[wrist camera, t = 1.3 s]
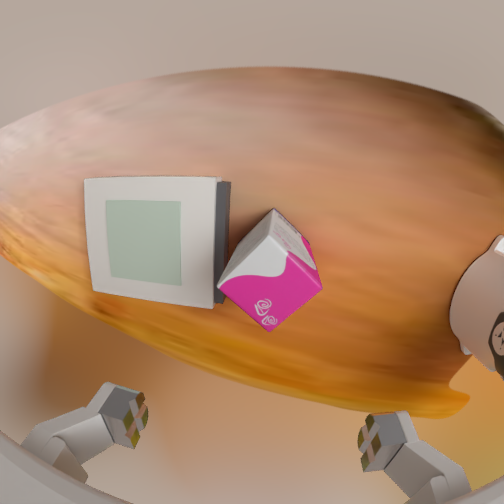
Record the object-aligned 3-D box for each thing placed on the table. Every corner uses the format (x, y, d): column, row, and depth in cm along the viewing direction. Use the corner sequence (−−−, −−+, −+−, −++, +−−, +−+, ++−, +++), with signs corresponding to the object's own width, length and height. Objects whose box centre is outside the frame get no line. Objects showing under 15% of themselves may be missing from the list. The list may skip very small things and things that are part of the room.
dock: (231, 177, 29) (225, 178, 26) (226, 298, 33) (221, 311, 30) (98, 177, 31) (82, 179, 28) (105, 282, 35) (91, 291, 32)
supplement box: (236, 244, 32) (212, 285, 21) (273, 206, 30) (270, 229, 19) (273, 280, 32) (269, 335, 21) (311, 244, 31) (327, 286, 20)
